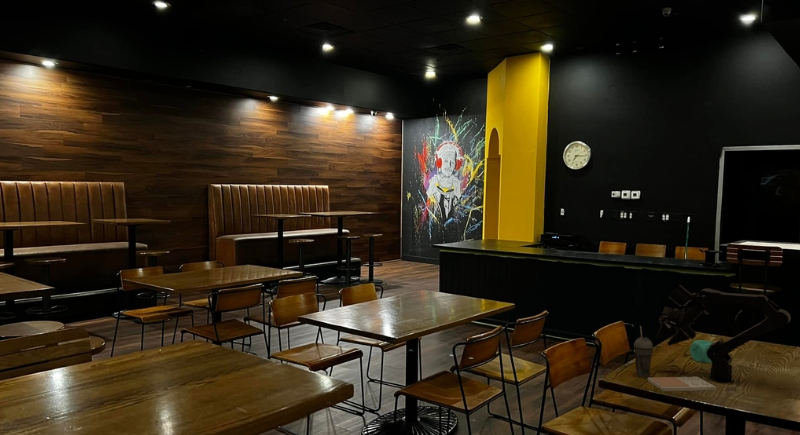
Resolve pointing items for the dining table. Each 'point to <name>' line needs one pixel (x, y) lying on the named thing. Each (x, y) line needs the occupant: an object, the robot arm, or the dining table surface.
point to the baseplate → (681, 383)
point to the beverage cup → (643, 355)
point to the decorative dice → (700, 351)
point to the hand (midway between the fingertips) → (661, 341)
